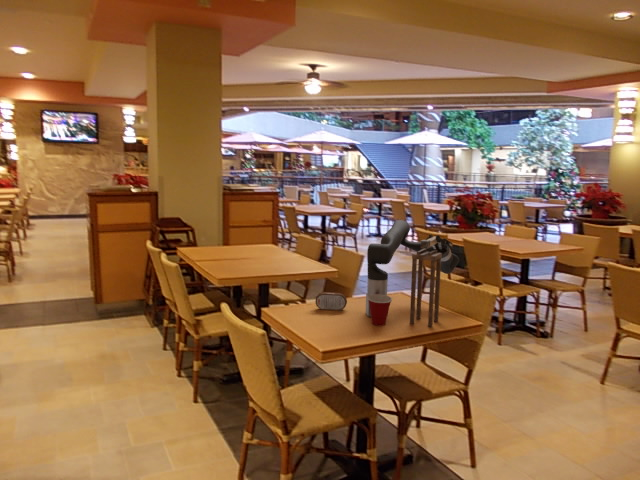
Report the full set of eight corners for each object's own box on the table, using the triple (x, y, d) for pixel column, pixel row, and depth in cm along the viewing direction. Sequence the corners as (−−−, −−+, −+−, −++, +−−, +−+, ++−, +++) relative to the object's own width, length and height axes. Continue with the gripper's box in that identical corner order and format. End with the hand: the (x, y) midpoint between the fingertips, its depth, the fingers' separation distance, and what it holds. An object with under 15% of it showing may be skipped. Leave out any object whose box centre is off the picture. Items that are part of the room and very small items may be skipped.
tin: (346, 309, 253) (347, 292, 252) (346, 311, 250) (346, 294, 249) (315, 308, 255) (315, 291, 254) (314, 310, 252) (315, 292, 251)
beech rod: (420, 248, 226) (420, 240, 226) (432, 241, 242) (433, 234, 241) (427, 248, 225) (428, 241, 224) (439, 242, 240) (439, 235, 240)
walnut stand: (409, 323, 232) (412, 251, 227) (416, 317, 241) (419, 248, 237) (431, 327, 227) (435, 253, 223) (438, 321, 236) (441, 250, 232)
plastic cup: (371, 328, 224) (372, 300, 223) (363, 321, 235) (363, 294, 233) (395, 326, 227) (396, 299, 226) (385, 319, 238) (386, 293, 236)
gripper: (429, 242, 255) (420, 227, 241) (457, 245, 249) (450, 229, 234) (426, 256, 253) (416, 242, 239) (455, 259, 246) (447, 245, 232)
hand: (433, 236), depth 237 cm, fingers closed on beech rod, 2 cm apart
